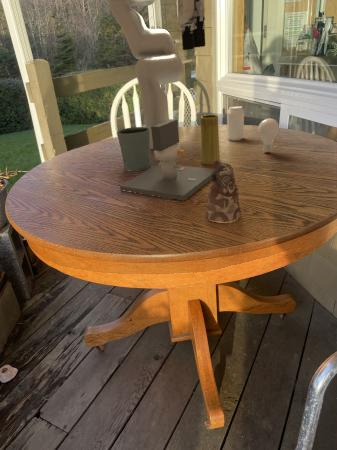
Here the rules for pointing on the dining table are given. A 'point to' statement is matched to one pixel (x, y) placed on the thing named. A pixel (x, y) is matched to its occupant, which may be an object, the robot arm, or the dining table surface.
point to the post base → (169, 180)
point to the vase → (209, 139)
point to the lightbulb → (268, 133)
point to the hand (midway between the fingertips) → (193, 48)
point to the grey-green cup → (135, 147)
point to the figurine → (223, 194)
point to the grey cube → (166, 140)
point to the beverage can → (235, 123)
